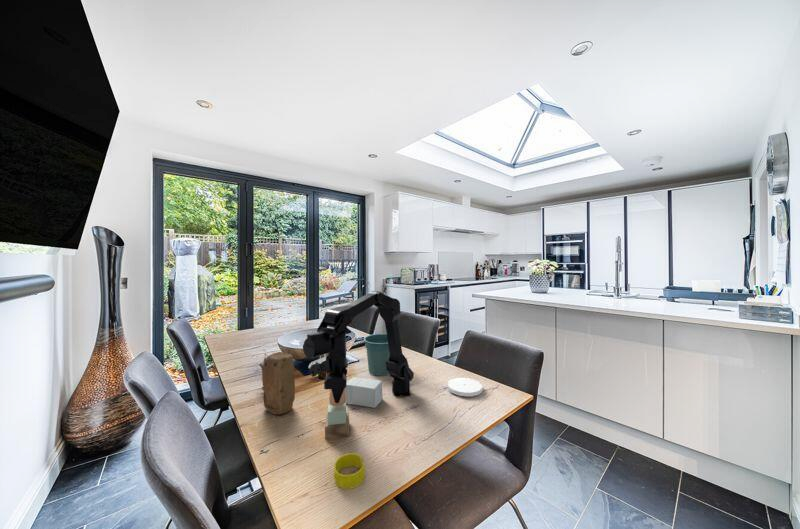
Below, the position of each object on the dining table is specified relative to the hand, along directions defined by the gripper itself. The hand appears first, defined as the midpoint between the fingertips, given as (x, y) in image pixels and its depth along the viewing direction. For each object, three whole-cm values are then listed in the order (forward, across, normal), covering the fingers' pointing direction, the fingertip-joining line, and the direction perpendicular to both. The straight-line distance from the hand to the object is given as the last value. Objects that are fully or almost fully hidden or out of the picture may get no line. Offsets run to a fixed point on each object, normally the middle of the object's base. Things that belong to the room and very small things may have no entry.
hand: (337, 398), depth 91 cm
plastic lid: (+11, -20, +50) cm, 55 cm away
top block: (+6, 0, 0) cm, 7 cm away
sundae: (+10, -37, -31) cm, 49 cm away
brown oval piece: (+1, 0, 0) cm, 1 cm away
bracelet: (+11, +20, +4) cm, 23 cm away
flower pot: (+10, -46, +18) cm, 50 cm away
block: (+10, -17, -22) cm, 30 cm away
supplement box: (+7, -21, +3) cm, 22 cm away
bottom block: (+10, 0, 0) cm, 11 cm away
